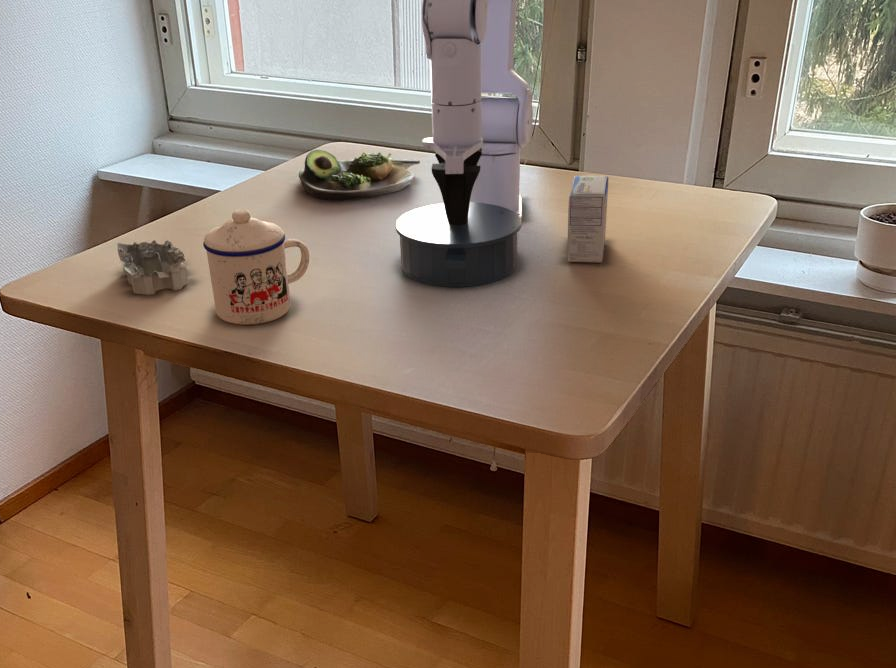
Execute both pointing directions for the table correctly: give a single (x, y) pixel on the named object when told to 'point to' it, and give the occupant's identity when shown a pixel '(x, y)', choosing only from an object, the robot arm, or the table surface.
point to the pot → (459, 263)
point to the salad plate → (354, 176)
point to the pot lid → (458, 226)
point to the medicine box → (587, 219)
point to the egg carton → (153, 266)
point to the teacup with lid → (251, 269)
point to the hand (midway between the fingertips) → (458, 216)
